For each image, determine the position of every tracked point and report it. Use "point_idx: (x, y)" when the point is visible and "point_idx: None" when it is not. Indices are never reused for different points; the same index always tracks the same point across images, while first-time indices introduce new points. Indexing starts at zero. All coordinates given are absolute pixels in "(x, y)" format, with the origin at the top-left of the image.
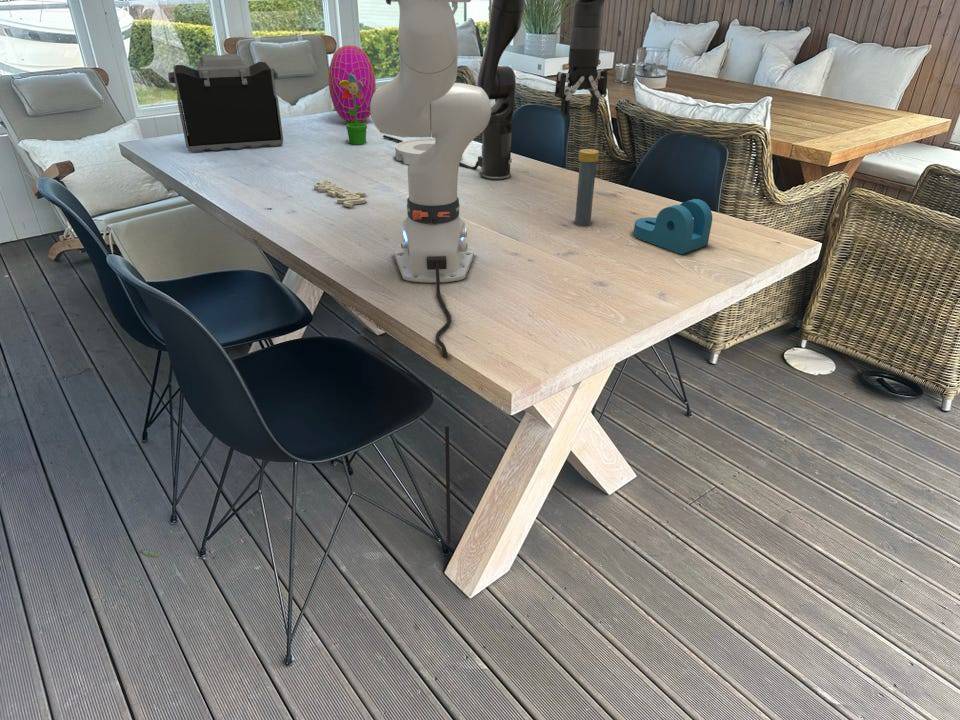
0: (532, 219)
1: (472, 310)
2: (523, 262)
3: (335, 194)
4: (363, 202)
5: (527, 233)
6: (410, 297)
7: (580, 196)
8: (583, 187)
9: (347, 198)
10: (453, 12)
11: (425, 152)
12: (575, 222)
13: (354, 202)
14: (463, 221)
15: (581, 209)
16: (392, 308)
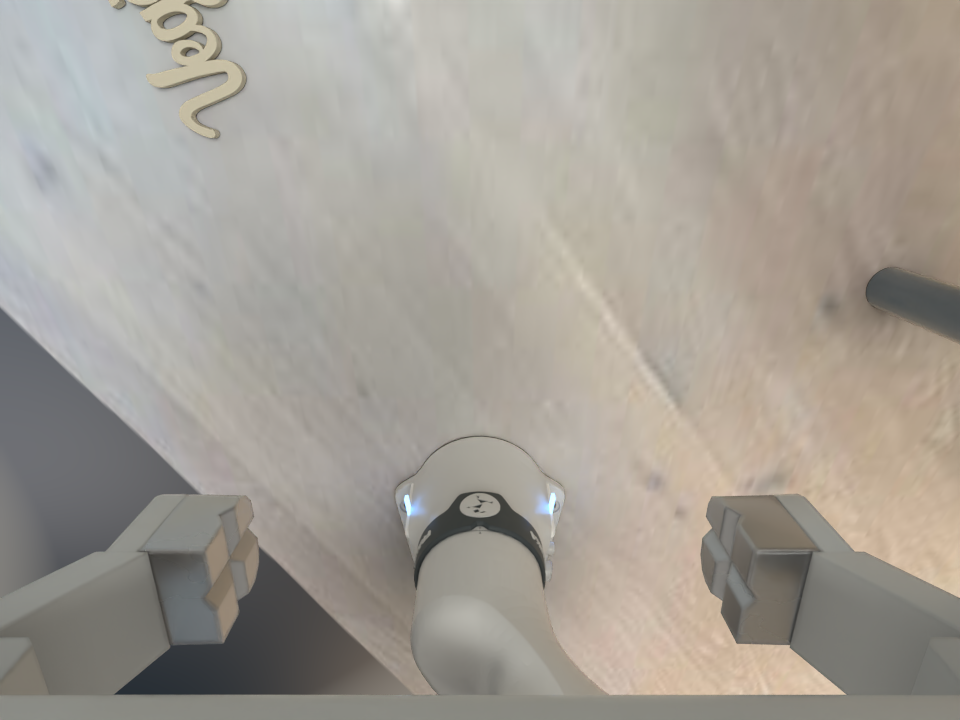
0: (757, 254)
1: None
2: (663, 521)
3: (121, 3)
4: (241, 88)
5: (714, 361)
6: None
7: (924, 327)
8: (950, 339)
9: (180, 70)
10: (859, 682)
11: (460, 686)
12: (868, 293)
13: (213, 102)
14: (551, 537)
15: (902, 319)
16: (414, 676)
